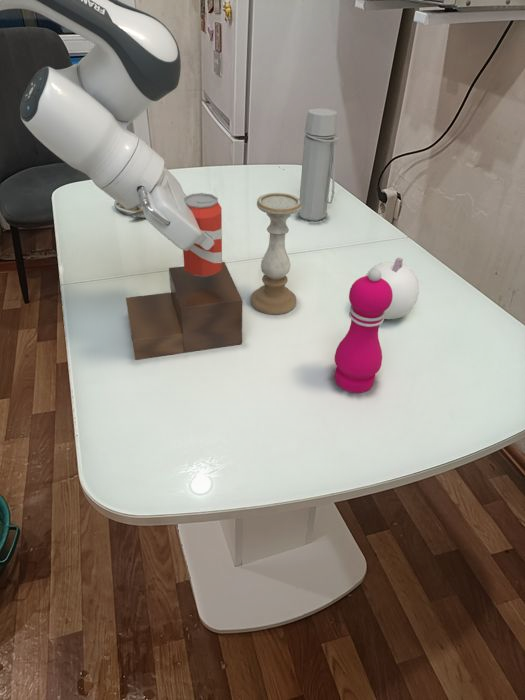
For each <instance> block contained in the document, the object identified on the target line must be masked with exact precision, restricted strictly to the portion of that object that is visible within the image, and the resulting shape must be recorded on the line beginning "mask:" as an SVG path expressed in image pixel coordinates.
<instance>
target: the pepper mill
mask: <svg viewBox="0 0 525 700" xmlns="http://www.w3.org/2000/svg"><path fill="white" fill-rule="evenodd" d="M369 270H370V269H369ZM369 270H368V271H369ZM367 273H368V272H367ZM392 297H393V294H392V289H391V287H390V285H389V283H388V282H387V281H385V280H384V279H382V278H381V272H380V271H379V270H378V269H372V270H370V271H369V273H368V276H366V275H364V276H361V277H359V278H357V279H356V280H355V281H354V282H353V283H352V284H351V287H350V288H349V293H348V299H349V300H348V301H349V303H350V307H349V313H348V316H349V318H350V325H349V329H348V331H347V333H346V334H345V336H344V337H343V338H342V340H341V341H340V342H339V344H338V345H337V347H336V349H335V352H334V364H335V371H334V381H335V383H336V385H337V386H338V387H340V388H341V389H342V390H344V391H345V392H349V393H355V394H361V393H365V392H367V391H370V390H371V389H372V388H373V386H374V384H375V380H376V374H377V373H379V371H380V369H381V367H382V363H383V351H382V348H381V343H380V340H379V330H380V329H379V328H380V325H381V324H383V323H384V321H385V319H384V316H385V310H387V309H388V308H389V306H390V305H391V302H392Z"/></svg>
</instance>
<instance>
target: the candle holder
mask: <svg viewBox="0 0 525 700" xmlns="http://www.w3.org/2000/svg"><path fill="white" fill-rule="evenodd" d="M299 198H300V197H297V196H295V195H293V194H290V193H285V192H269V193H266V194H263V195H260V196H259V197H258V199H257V200H256V207H257V208H258V209H259V210H260V211H261V212H263V213H265V214H266V216H267V217H268V218H269V220H270V223H269V224H268V226H267V227H266V231H267V232H268V233H269V240H268V247H267V250H266V251H265V253H264V255H263V257H262V259H261V262H260V269H261V272H262V273H263V276H262V277H261V280H262V283H263V285H262V286H260V287H259V288H257V289H256V290H254V291H253V292H252V293H251V295H250V303H251V305H252V307H253V308H254V309H256V311H258V312H261V313H263V314H267V315H282V314H287V313H289V312H291V311H292V310H294V309H295V307H296V305H297V300H298V299H297V296H296V295H295V293H294V292H293V291H291V290H290V289H289V288H288V287H287V286H286V284H287V283H288V281H289V280H288V277H287V275H288V274H289V272H290V271H291V261H290V257H289V255H288V253H287V250H286V234H288V233H289V231H290V230H289V227H288V225H287V220H288V219H289V218H290V217H291V216H292V215H294V214H296V213H298V211H300V209H301V207H302V203H301V201H300V199H299Z"/></svg>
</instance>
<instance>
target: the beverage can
mask: <svg viewBox="0 0 525 700" xmlns="http://www.w3.org/2000/svg"><path fill="white" fill-rule="evenodd" d="M185 201H186V202H185ZM184 202H185V203H186V204H187V205H188V207H189V208H190V209H191V211H192V212H193V215H194V217H195V219H196V221H197V224H198V226H199V228H200V230H202V231H203V232H204V233H205V232H206V233H207V234H208V235H209V236H211V237H212V239H213V241H214V245H213V246H212V247H211V248H210V249H209V250H205V249H204V248H203V247H202V246H200V245H198V244H196V243H195V244H194V245H193V246H192V247H191V248H190V249H189V250H187V251H185V250H182V257H183V266H184V269H185V270H186V271H187V272H189V273H190V274H193V275H194V276H199V277H208V276H212V275H214V274H216V273H217V272H219V271H220V270H222V262H223V226H222V225H223V224H222V223H223V222H222V217H223V215H222V213H223V211H222V209H223V208H222V206H221V205H220V202H219V198H218V197H217V196H215V195H213V194H212V193H205V192H199V193H198V192H197V193H191V194H188V195H186V197H185V198H184Z"/></svg>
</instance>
